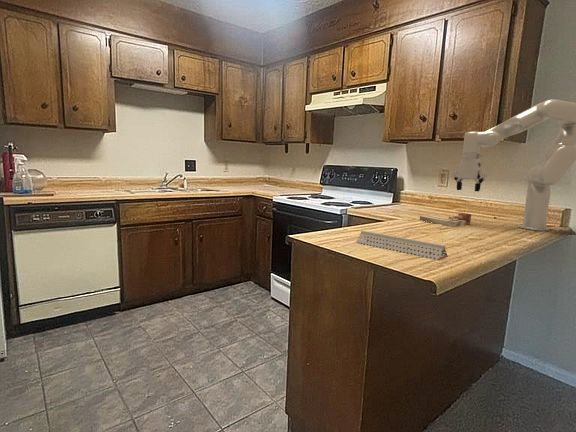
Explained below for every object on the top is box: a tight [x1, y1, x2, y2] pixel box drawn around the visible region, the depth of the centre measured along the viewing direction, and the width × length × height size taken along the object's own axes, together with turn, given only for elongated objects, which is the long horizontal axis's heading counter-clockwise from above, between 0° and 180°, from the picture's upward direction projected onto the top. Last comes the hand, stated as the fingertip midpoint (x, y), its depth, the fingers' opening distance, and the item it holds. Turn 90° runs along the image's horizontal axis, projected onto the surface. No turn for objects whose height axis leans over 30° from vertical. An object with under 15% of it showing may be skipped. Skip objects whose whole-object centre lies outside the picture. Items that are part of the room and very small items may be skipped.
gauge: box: [447, 212, 472, 226], centre depth 181 cm, size 15×4×6 cm, turn 122°
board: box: [419, 214, 467, 228], centre depth 186 cm, size 10×20×3 cm, turn 32°
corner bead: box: [355, 230, 449, 261], centre depth 125 cm, size 31×9×5 cm, turn 46°
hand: (467, 190), depth 182 cm, fingers open, 9 cm apart
